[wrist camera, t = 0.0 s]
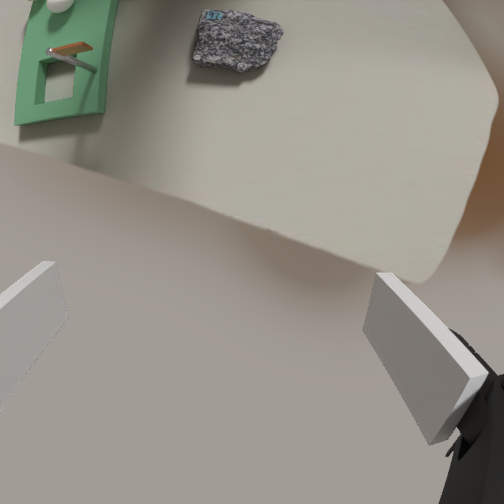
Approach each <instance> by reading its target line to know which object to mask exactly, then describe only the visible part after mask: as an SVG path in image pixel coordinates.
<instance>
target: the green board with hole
mask: <svg viewBox="0 0 504 504" xmlns="http://www.w3.org/2000/svg"><path fill="white" fill-rule="evenodd" d="M118 1H119V0H74V2H73V4H72V5H71V7H70V8H69V9H67V10H66V11H64V12H61V13H53V12H51V11H50V10H49V9H48V8H47V0H35V1H33V4H32V7H31V11H30V15H29V19H28V24H27V28H26V33H25V38H24V43H23V48H22V54H21V60H20V67H19V75H18V83H17V93H16V105H15V123H14V126H16V125H28V124H33V123H39V122H44V121H50V120H55V119H62V118H68V117H75V116H82V115H90V114H99V113H105V102H106V88H107V76H108V66H109V58H110V50H111V42H112V35H113V29H114V23H115V17H116V11H117V6H118ZM82 41H83V42H85V43H87V44H88V45H90V46H92V47H93V50H91V51H86V52H81V53H77V54H72V55H70V56H72V57H77V59H79V60H81V61H83V62H86V63H88V64H90V65H92V66H94V67H96V68H97V72H96V73H92V72H89V71H87V70H84V69H82V68H80V67H77V66H76V68H75V77H74V87H73V98H68V99H63V100H57V101H52V102H47V103H44V97H45V85H46V76H47V68H48V64H49V63H53V62H57V61H61V60H59V59H57V58H54V57H51V56H49V55H46V50H47V48H49V47H51V48H57V47H61V46H65V45H69V44H73V43H77V42H82Z"/></svg>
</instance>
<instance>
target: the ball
mask: <svg viewBox="0 0 504 504" xmlns="http://www.w3.org/2000/svg"><path fill="white" fill-rule="evenodd" d="M73 2H74V0H47V8H48V9H49V10H50V11H51V12H53V13H61V12H64V11H66V10H67V9H69V8H70V7H71V5H72V4H73Z"/></svg>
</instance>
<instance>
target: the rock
mask: <svg viewBox="0 0 504 504" xmlns="http://www.w3.org/2000/svg"><path fill="white" fill-rule="evenodd" d="M283 34H284V30H283V29H282V27H281V26H280V25H279V24H278V23H276V22H271V21H267V20H262V19H258V18H256V17H255V16H253V15H250V14H249V13H241V12H238V11H236V10H203V11H202V13H201V16H200V19H199V24H198V26H197V35H198V41H197V42H196V44H195V49H194V54H193V56H192V60H193V61H194V63H195V64H197V65H199V66H200V67H208V68H224V69H229V70H234V71H238V72H239V73H243V72H245V71H246V72H250V71H253V70H255V69H258V68H259V67H261V66H262V65H264V64H266V63H267V62H268V61H269V60H270V58H271V55H272V53H273V52H274V51H275V49H276V44H277V42H278V40H279V39H280V37H281V36H282V35H283Z"/></svg>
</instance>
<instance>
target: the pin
mask: <svg viewBox="0 0 504 504" xmlns="http://www.w3.org/2000/svg"><path fill="white" fill-rule="evenodd" d="M91 50H93V47H92V46H90V45H88V44H87V43H85V42H83V41H82V42H77V43H73V44H69V45H65V46H61V47H57V48H51V47H49V48H47V50H46V55H49V56H51V57H54V58H57V59H59V60H62V61H64V62H67V63H70V64H72V65H75V66H77V67H80V68H82V69H84V70H87V71H89V72H92V73H96V72H97V68H96V67H94V66H92V65H90V64H88V63H86V62H83V61H81V60H79V59H77V58H75V57H72V56H70V55H72V54H77V53H81V52H86V51H91Z"/></svg>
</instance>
